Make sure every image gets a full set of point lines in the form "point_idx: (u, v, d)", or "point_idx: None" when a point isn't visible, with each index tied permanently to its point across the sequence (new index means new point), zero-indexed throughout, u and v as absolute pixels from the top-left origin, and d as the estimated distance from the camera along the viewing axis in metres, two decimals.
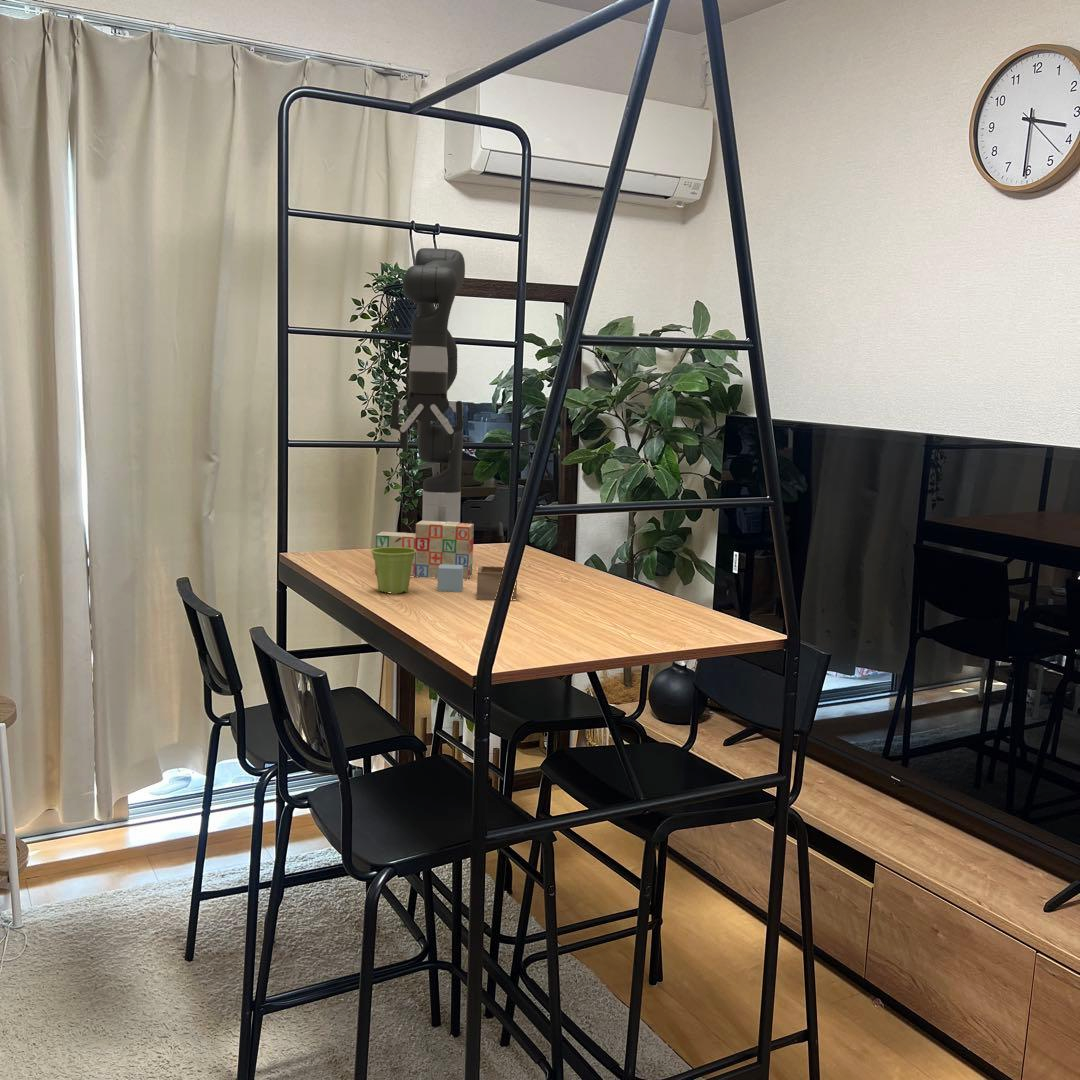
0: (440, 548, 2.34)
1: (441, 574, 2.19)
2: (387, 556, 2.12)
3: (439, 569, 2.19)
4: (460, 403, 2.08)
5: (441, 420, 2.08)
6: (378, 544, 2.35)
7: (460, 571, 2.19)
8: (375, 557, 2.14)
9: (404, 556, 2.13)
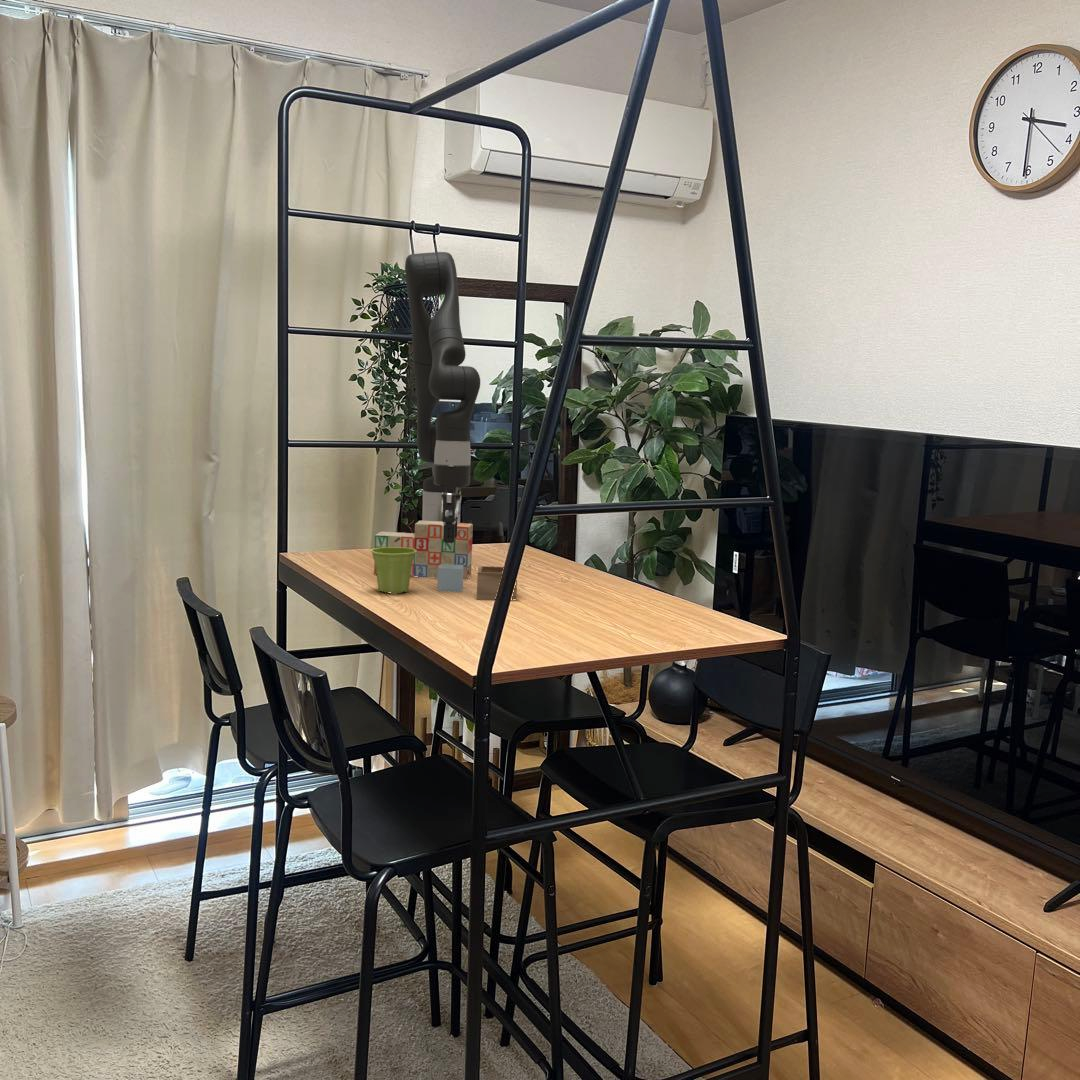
0: (439, 548, 2.34)
1: (441, 574, 2.19)
2: (387, 556, 2.12)
3: (439, 569, 2.19)
4: (459, 490, 2.26)
5: None
6: (377, 544, 2.35)
7: (460, 571, 2.19)
8: (375, 557, 2.14)
9: (404, 556, 2.13)
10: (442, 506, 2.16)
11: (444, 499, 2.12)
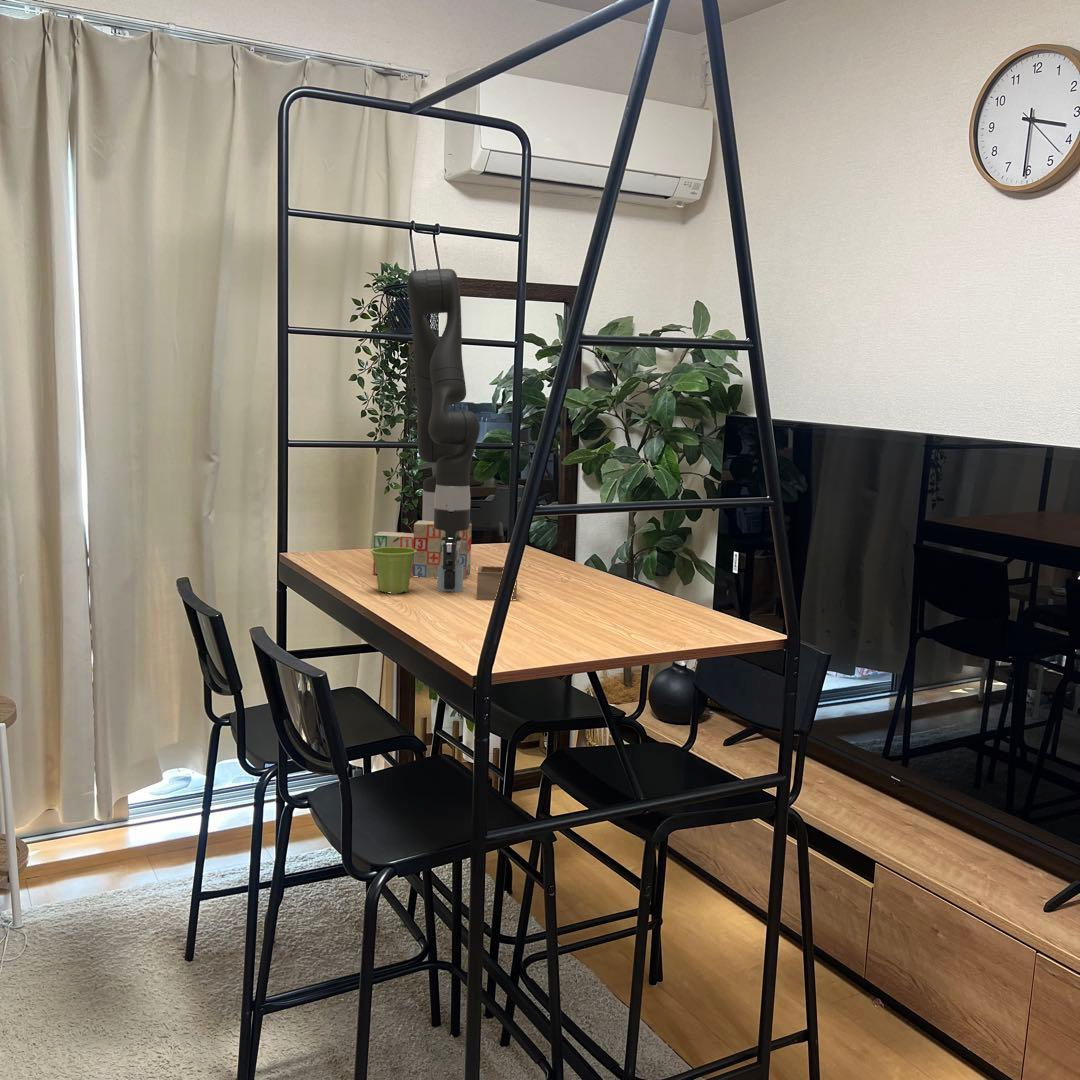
0: (438, 548, 2.34)
1: (441, 574, 2.19)
2: (387, 556, 2.12)
3: (439, 569, 2.19)
4: (459, 537, 2.27)
5: (459, 553, 2.23)
6: (376, 544, 2.35)
7: (460, 571, 2.19)
8: (375, 557, 2.14)
9: (404, 556, 2.13)
10: (442, 552, 2.18)
11: (444, 549, 2.14)
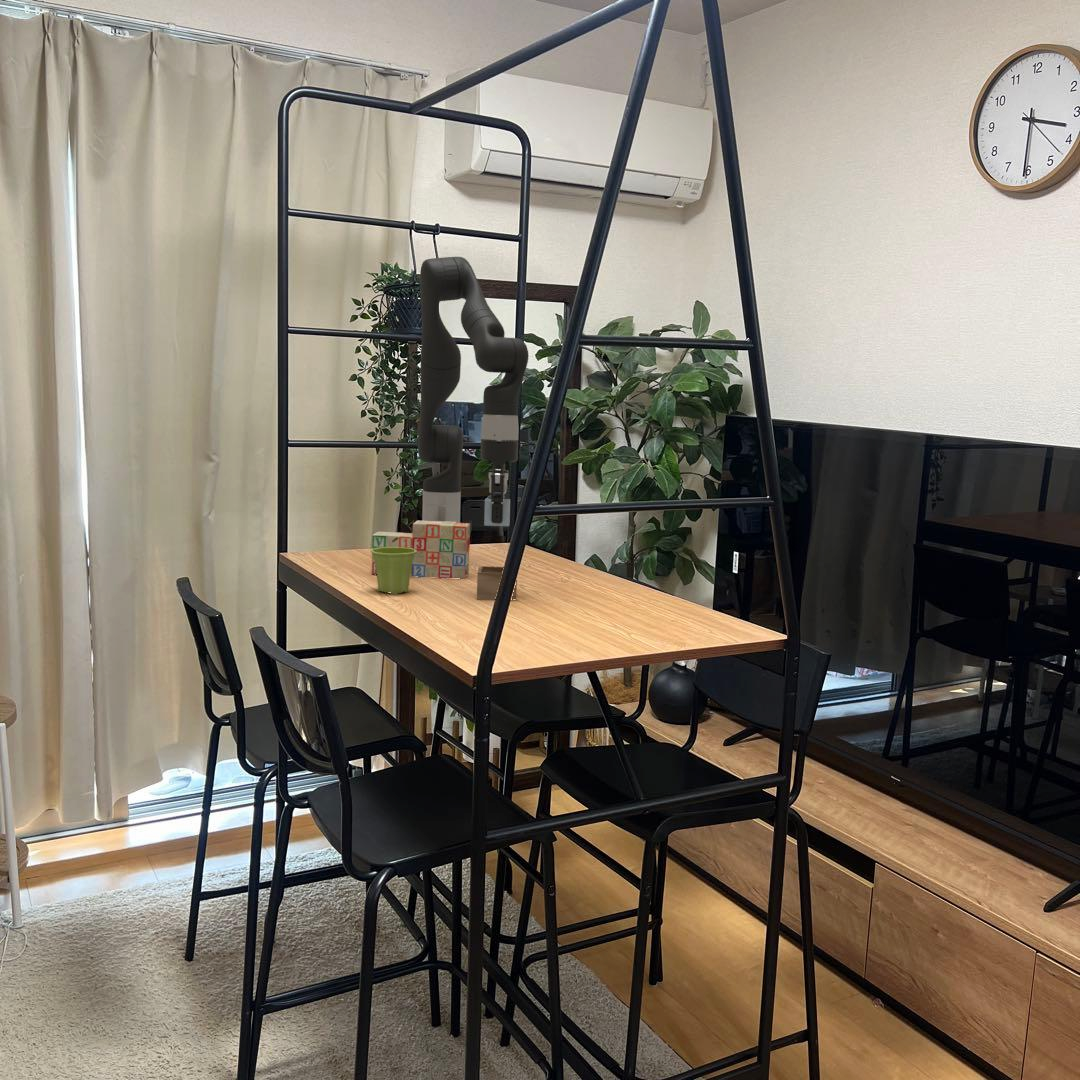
0: (437, 548, 2.34)
1: (488, 507, 2.11)
2: (387, 556, 2.12)
3: (486, 502, 2.11)
4: None
5: (506, 487, 2.15)
6: (375, 544, 2.35)
7: (508, 504, 2.11)
8: (375, 557, 2.14)
9: (404, 556, 2.13)
10: (490, 485, 2.10)
11: (492, 480, 2.06)
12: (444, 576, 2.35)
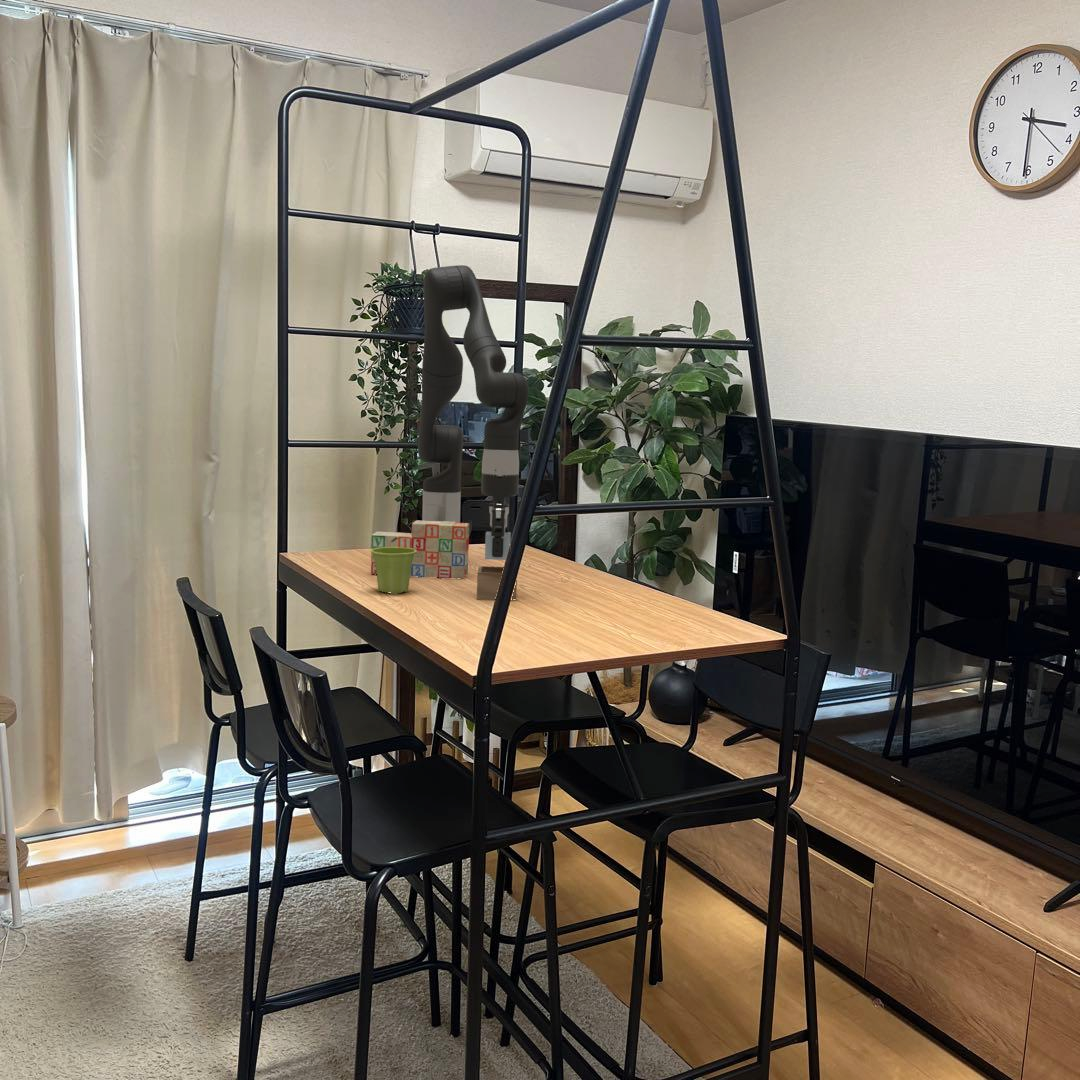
0: (436, 547, 2.34)
1: (488, 541, 2.12)
2: (387, 556, 2.12)
3: (487, 536, 2.12)
4: (505, 504, 2.20)
5: None
6: (374, 544, 2.35)
7: (508, 538, 2.12)
8: (375, 557, 2.14)
9: (404, 556, 2.13)
10: (490, 519, 2.11)
11: (493, 515, 2.07)
12: (443, 576, 2.35)
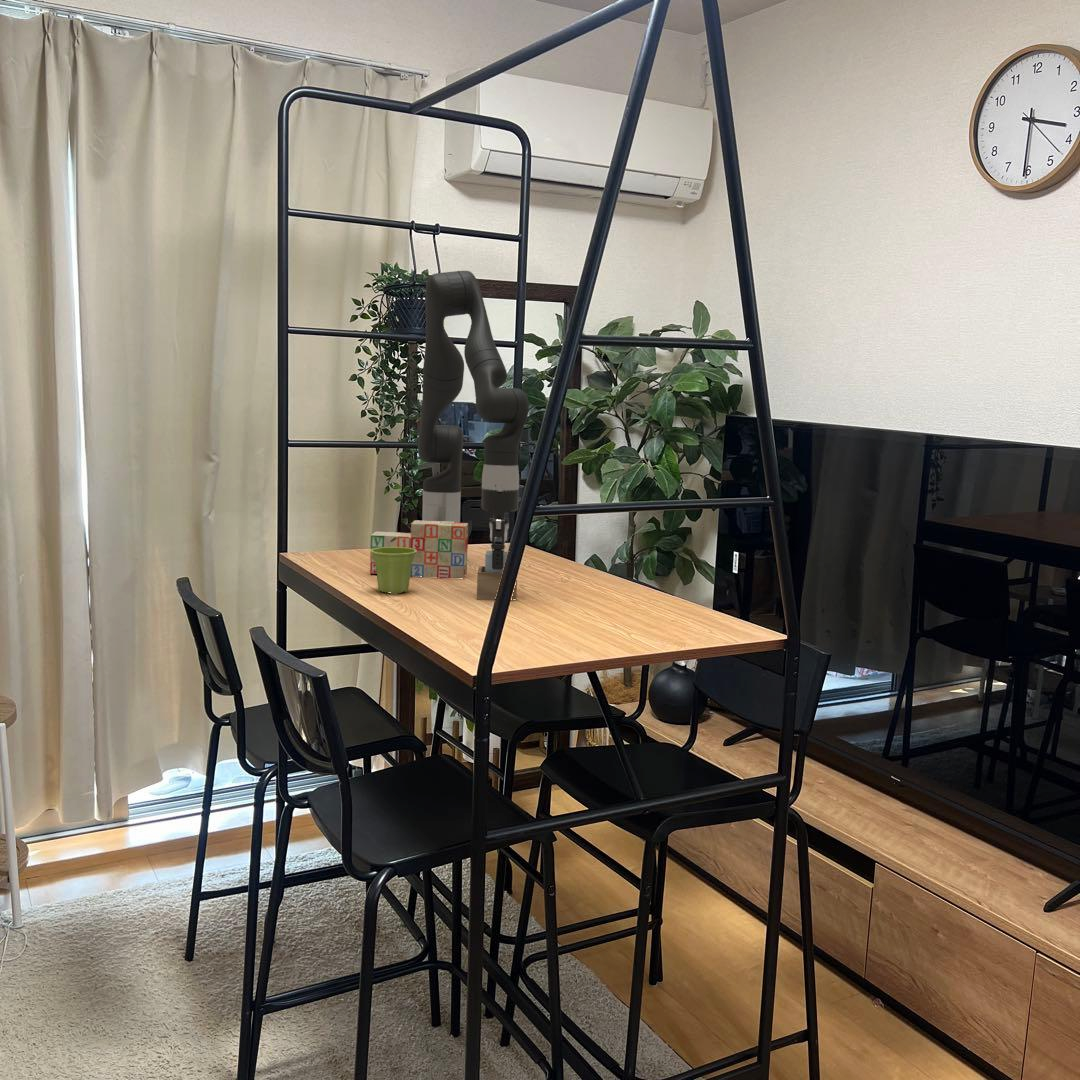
0: (435, 547, 2.34)
1: (488, 561, 2.13)
2: (387, 556, 2.12)
3: (486, 555, 2.13)
4: (505, 514, 2.21)
5: None
6: (373, 544, 2.35)
7: None
8: (375, 557, 2.14)
9: (404, 556, 2.13)
10: (490, 532, 2.11)
11: (493, 525, 2.07)
12: (443, 576, 2.35)
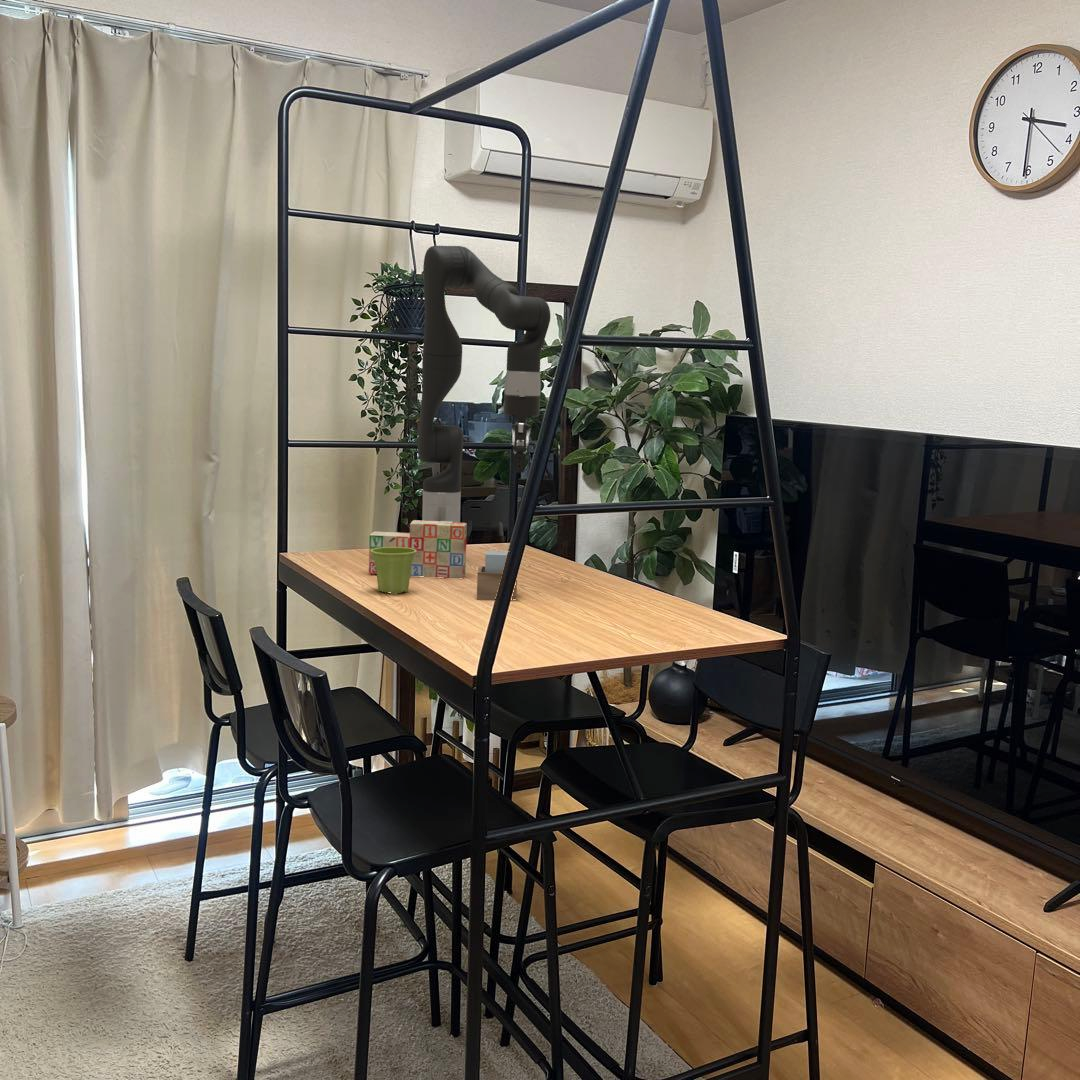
0: (434, 547, 2.34)
1: (488, 561, 2.13)
2: (387, 556, 2.12)
3: (486, 555, 2.13)
4: (527, 422, 2.28)
5: None
6: (372, 544, 2.34)
7: None
8: (375, 557, 2.14)
9: (404, 556, 2.13)
10: (513, 436, 2.19)
11: (516, 429, 2.15)
12: (441, 576, 2.35)
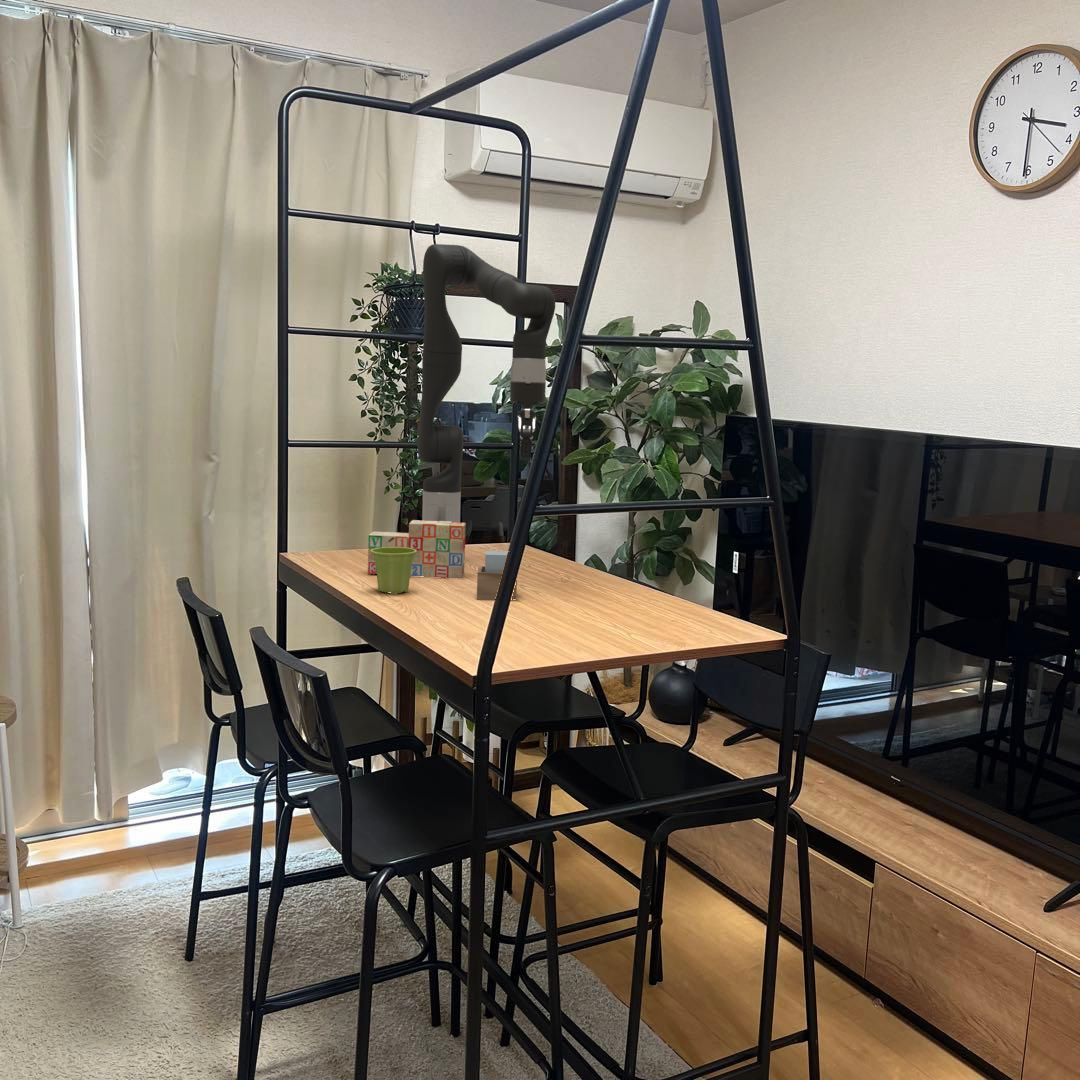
0: (433, 547, 2.34)
1: (488, 561, 2.13)
2: (387, 556, 2.12)
3: (486, 555, 2.13)
4: None
5: None
6: (371, 544, 2.34)
7: None
8: (375, 557, 2.14)
9: (404, 556, 2.13)
10: (519, 422, 2.21)
11: (522, 414, 2.17)
12: (441, 575, 2.35)
